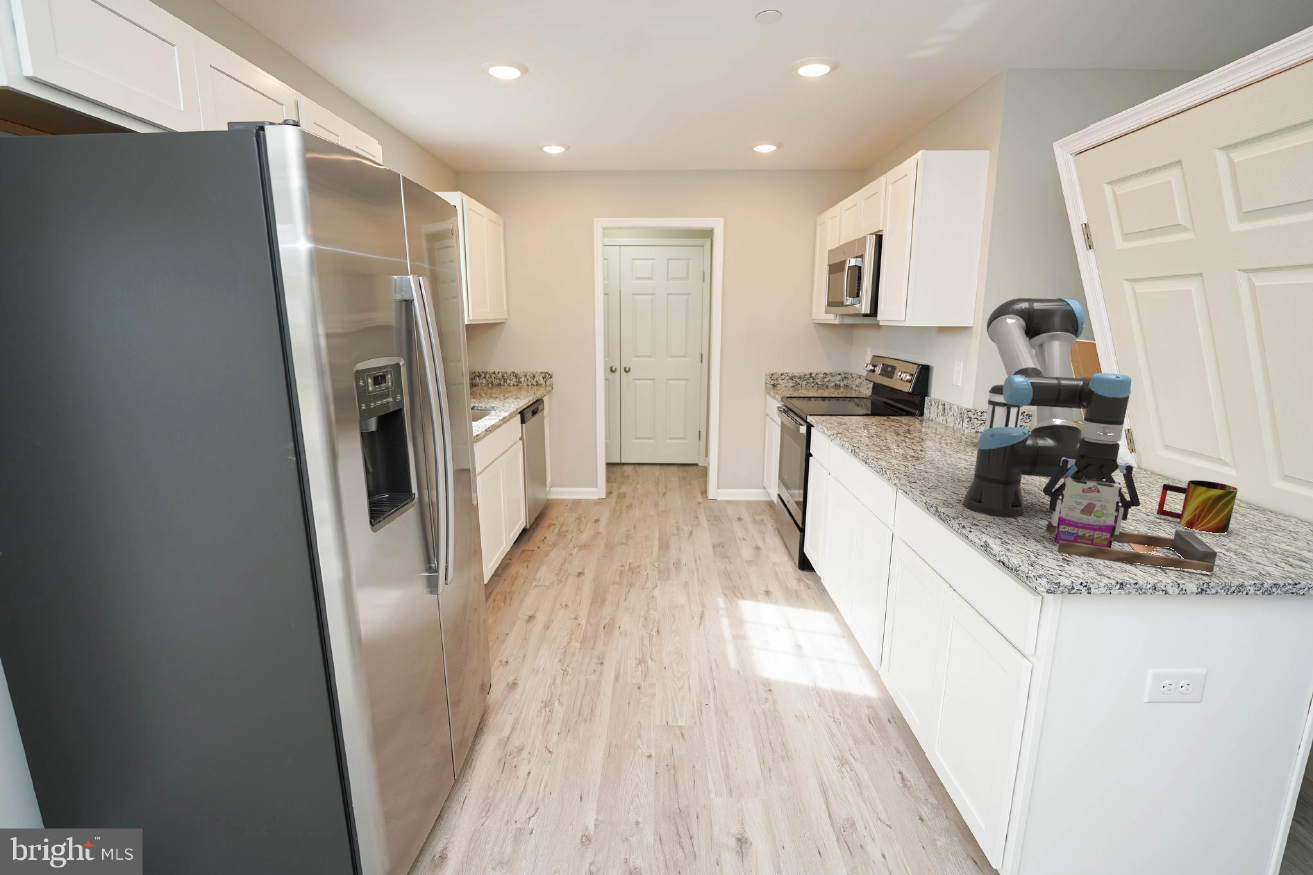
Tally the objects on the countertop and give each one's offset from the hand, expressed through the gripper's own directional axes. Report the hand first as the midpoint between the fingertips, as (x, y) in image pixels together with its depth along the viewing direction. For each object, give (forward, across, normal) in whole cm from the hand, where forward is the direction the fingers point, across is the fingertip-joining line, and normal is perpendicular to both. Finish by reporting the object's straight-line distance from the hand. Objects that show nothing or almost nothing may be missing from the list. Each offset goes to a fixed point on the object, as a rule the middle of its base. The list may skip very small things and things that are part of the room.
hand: (1084, 528), depth 143 cm
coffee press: (+4, -7, +109) cm, 109 cm away
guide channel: (+4, +8, 0) cm, 9 cm away
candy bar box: (+5, 0, 0) cm, 5 cm away
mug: (+5, +31, +30) cm, 43 cm away
